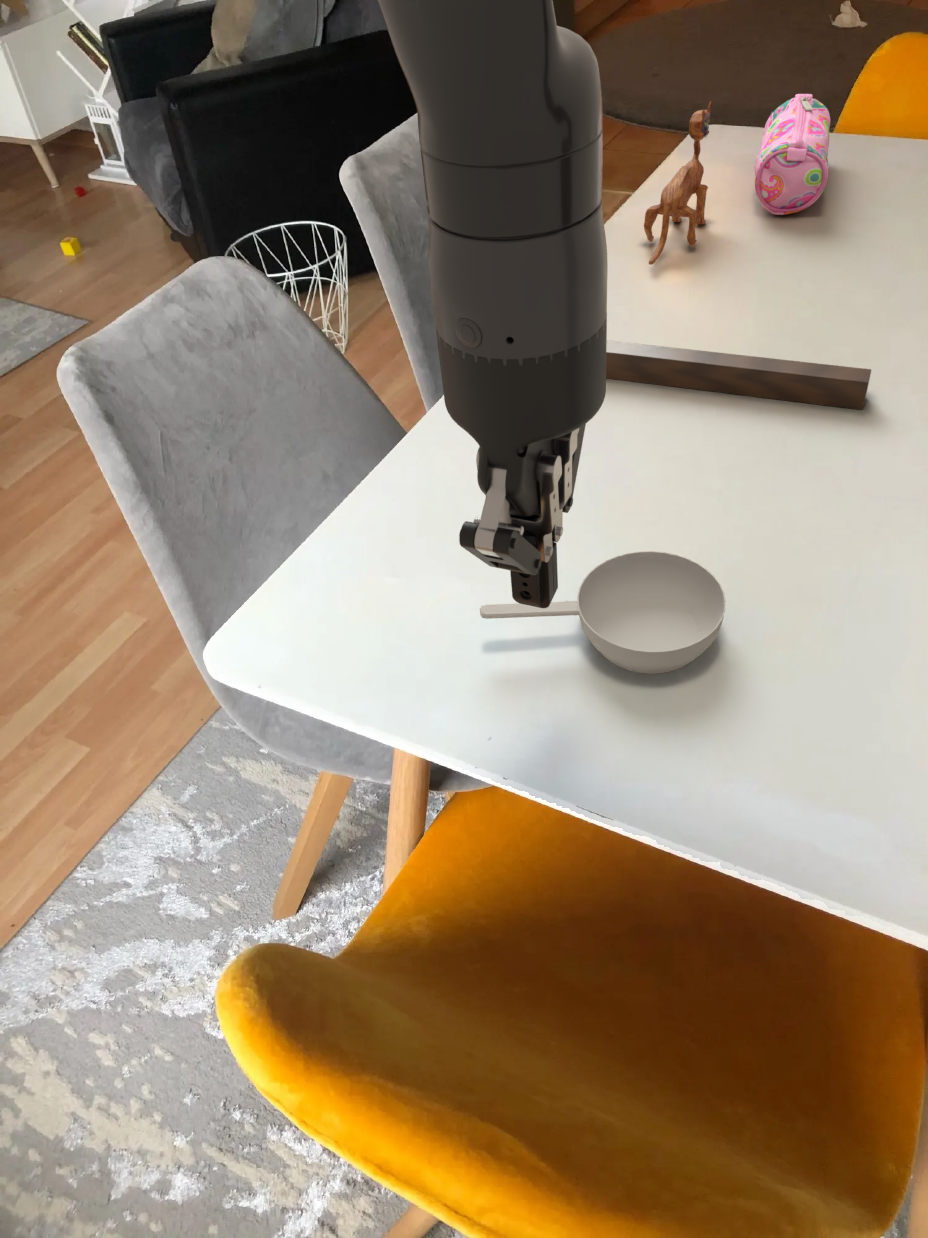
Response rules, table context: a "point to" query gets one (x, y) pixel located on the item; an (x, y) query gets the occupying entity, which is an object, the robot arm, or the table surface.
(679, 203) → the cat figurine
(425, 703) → the table surface
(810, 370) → the walnut rail
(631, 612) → the saucepan
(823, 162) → the pencil case
